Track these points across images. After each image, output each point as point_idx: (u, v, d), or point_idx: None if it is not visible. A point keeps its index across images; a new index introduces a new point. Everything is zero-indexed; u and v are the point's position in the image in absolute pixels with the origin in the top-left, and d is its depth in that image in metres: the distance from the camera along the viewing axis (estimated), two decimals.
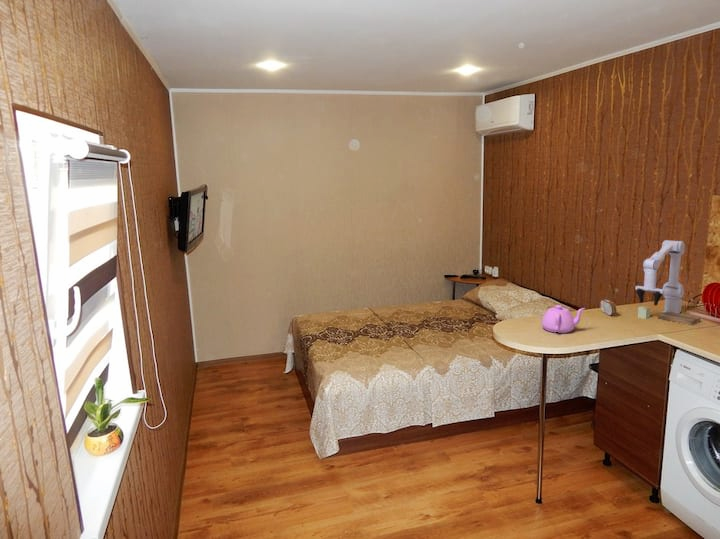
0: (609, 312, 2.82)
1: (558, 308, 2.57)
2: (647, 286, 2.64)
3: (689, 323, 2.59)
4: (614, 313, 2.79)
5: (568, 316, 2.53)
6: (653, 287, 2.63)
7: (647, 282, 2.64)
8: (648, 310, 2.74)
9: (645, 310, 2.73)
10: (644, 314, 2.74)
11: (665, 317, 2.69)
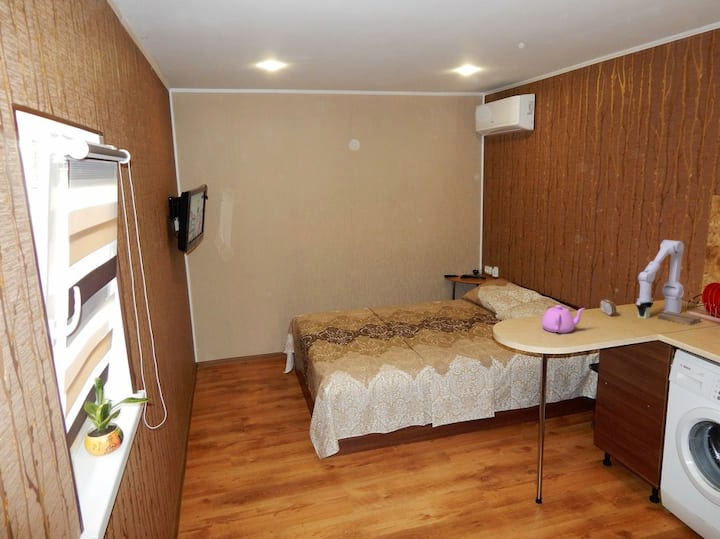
0: (609, 312, 2.82)
1: (558, 308, 2.57)
2: None
3: (688, 323, 2.59)
4: (614, 313, 2.79)
5: (568, 316, 2.53)
6: (640, 298, 2.74)
7: None
8: (648, 310, 2.74)
9: (645, 310, 2.73)
10: (644, 314, 2.74)
11: (665, 317, 2.69)
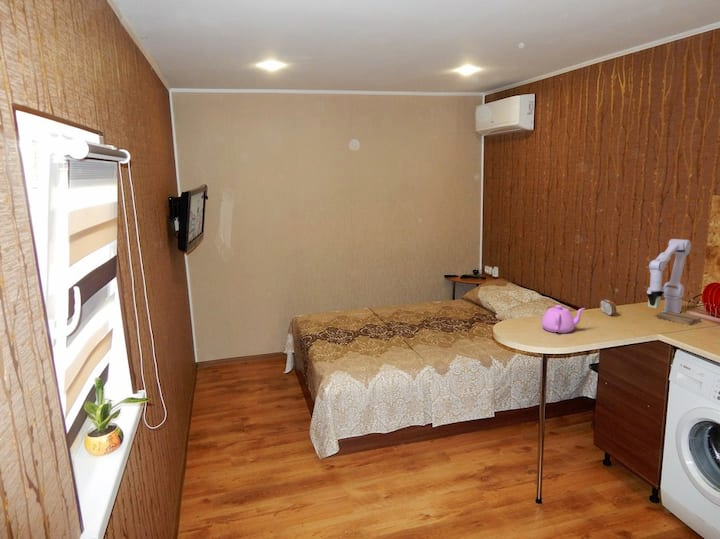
0: (609, 312, 2.82)
1: (558, 308, 2.57)
2: None
3: (687, 323, 2.59)
4: (614, 313, 2.79)
5: (568, 316, 2.53)
6: (651, 287, 2.71)
7: None
8: (659, 299, 2.71)
9: None
10: (655, 303, 2.70)
11: (664, 317, 2.70)
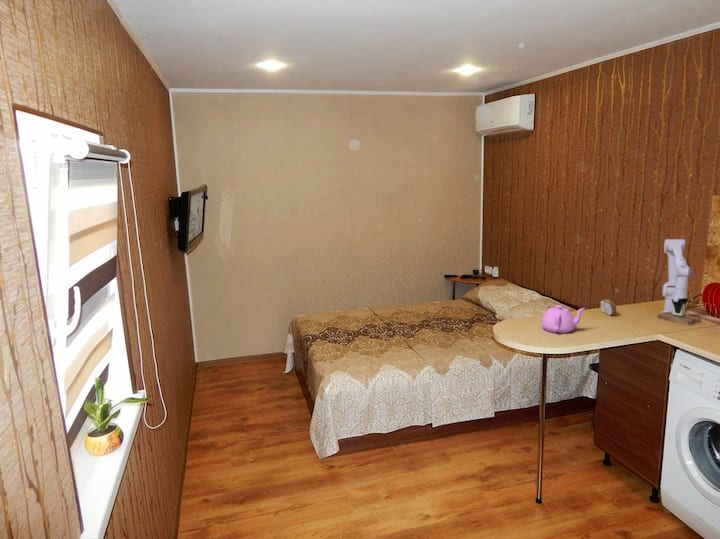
0: (609, 312, 2.82)
1: (558, 308, 2.57)
2: None
3: (686, 323, 2.59)
4: (614, 313, 2.79)
5: (568, 316, 2.53)
6: (676, 294, 2.65)
7: None
8: (683, 306, 2.66)
9: None
10: (680, 311, 2.65)
11: (664, 317, 2.70)
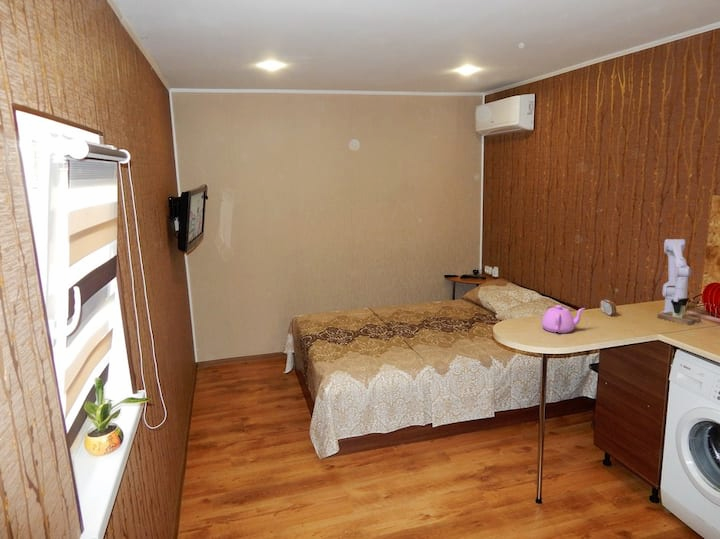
0: (609, 312, 2.82)
1: (558, 308, 2.57)
2: None
3: (686, 323, 2.59)
4: (614, 313, 2.79)
5: (568, 316, 2.53)
6: (676, 294, 2.65)
7: None
8: (683, 308, 2.66)
9: (681, 308, 2.65)
10: (680, 313, 2.65)
11: (664, 317, 2.70)
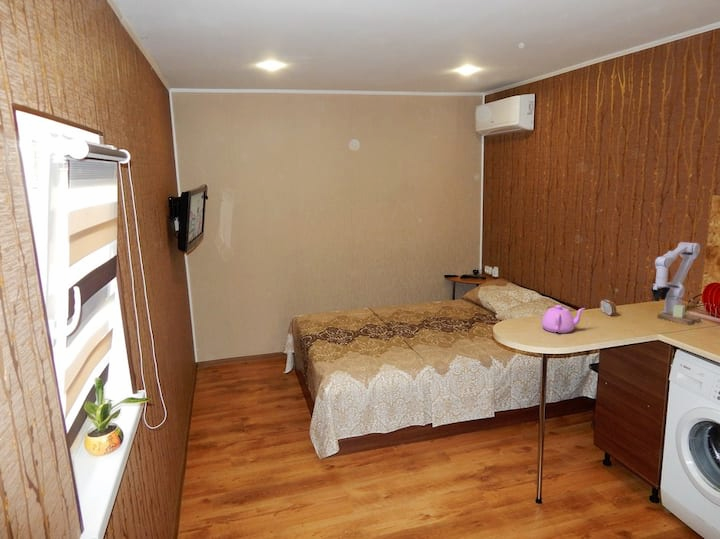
0: (609, 312, 2.82)
1: (558, 308, 2.57)
2: None
3: (686, 323, 2.59)
4: (614, 313, 2.79)
5: (568, 316, 2.53)
6: (657, 283, 2.75)
7: None
8: (684, 308, 2.66)
9: (681, 308, 2.65)
10: (681, 313, 2.65)
11: (664, 317, 2.70)
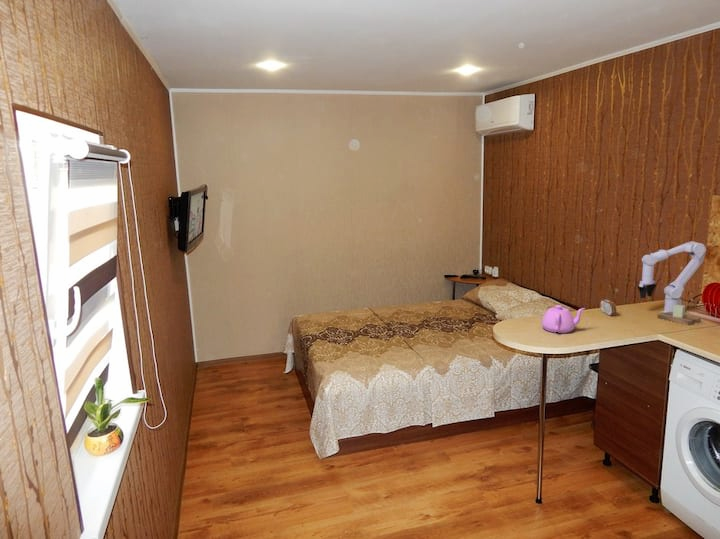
0: (609, 312, 2.82)
1: (558, 308, 2.57)
2: None
3: (686, 323, 2.59)
4: (614, 313, 2.79)
5: (568, 316, 2.53)
6: (643, 281, 2.83)
7: None
8: (684, 308, 2.66)
9: (681, 308, 2.65)
10: (680, 313, 2.65)
11: (664, 317, 2.70)
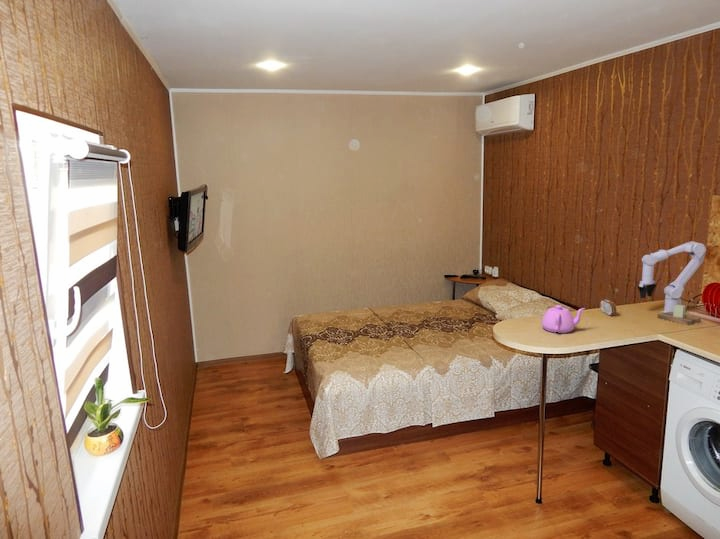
0: (609, 312, 2.82)
1: (558, 308, 2.57)
2: None
3: (686, 323, 2.59)
4: (614, 313, 2.79)
5: (568, 316, 2.53)
6: (643, 281, 2.83)
7: None
8: (684, 308, 2.66)
9: (682, 309, 2.65)
10: (681, 313, 2.65)
11: (664, 317, 2.70)
